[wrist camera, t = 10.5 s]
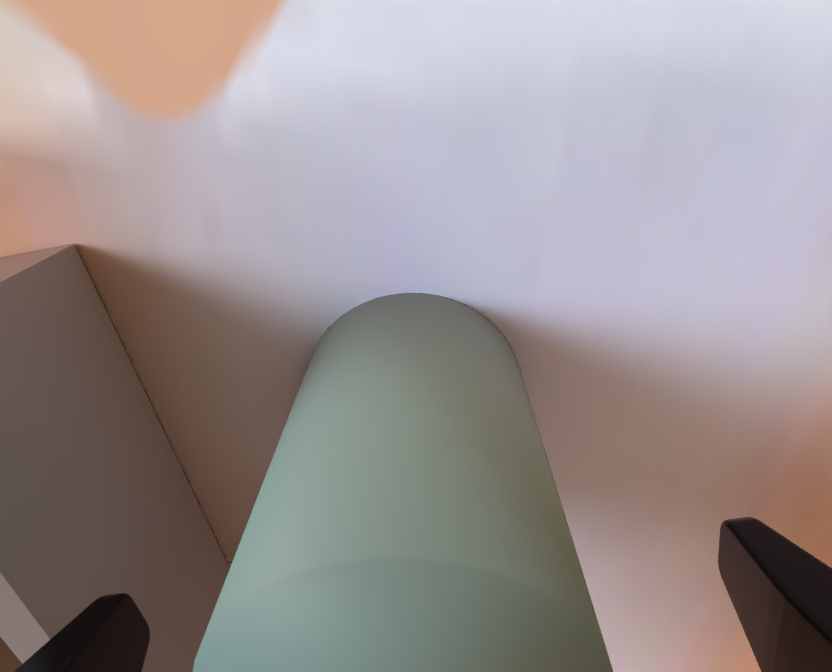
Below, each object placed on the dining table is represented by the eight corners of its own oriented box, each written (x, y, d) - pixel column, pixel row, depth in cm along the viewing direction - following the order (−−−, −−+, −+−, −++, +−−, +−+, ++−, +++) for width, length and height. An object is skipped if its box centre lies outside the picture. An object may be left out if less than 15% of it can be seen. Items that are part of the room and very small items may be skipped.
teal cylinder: (508, 274, 12) (608, 528, 5) (530, 461, 14) (619, 796, 7) (279, 314, 12) (121, 589, 6) (336, 487, 14) (266, 824, 8)
